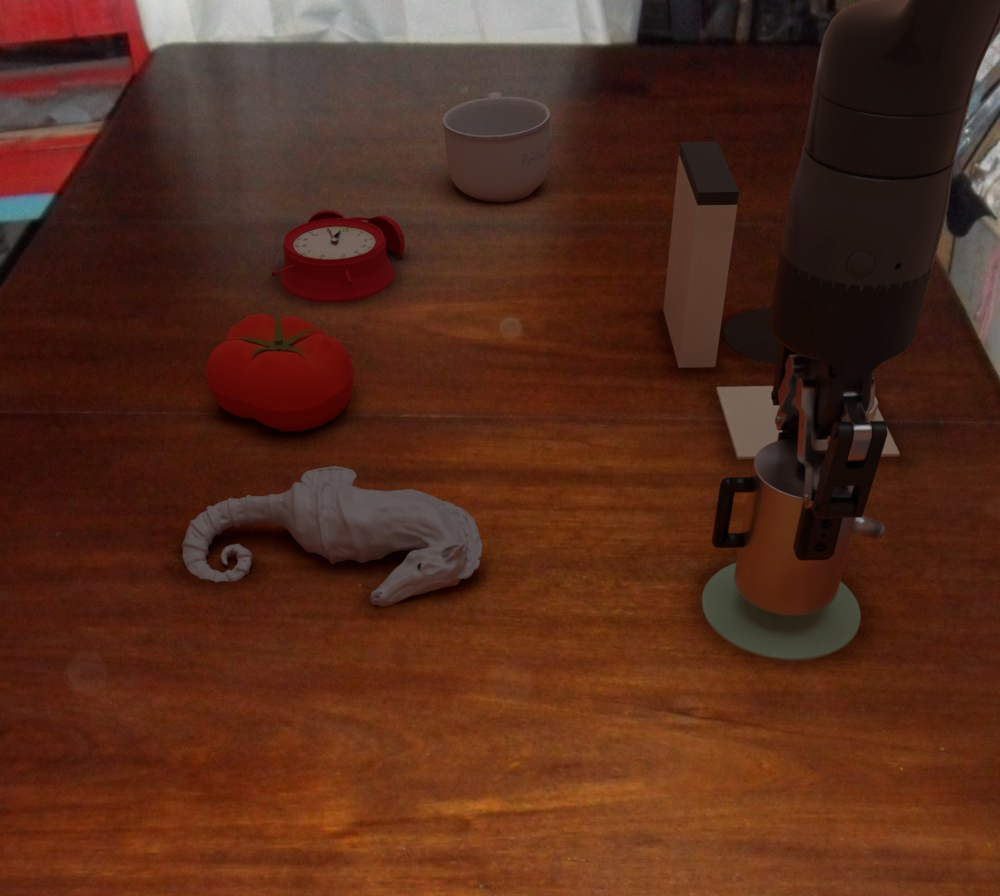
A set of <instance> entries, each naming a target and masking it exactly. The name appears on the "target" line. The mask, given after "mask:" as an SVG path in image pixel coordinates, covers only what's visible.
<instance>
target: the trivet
mask: <svg viewBox="0 0 1000 896" xmlns="http://www.w3.org/2000/svg"><path fill="white" fill-rule="evenodd" d="M735 568H736V562H735V563H734V562H733V563H731V564H729V565H727V566H725V567H722V568H721V569H720V570H718V571H717V572H716V573H715V574H713V576H711V577H710V578H709V580H708V581H707V582H706V584H705V586H704V588H703V591H702V594H701V602H700V604H701V609H702V613H703V615H704V618H705V620H706V621H707V623H708V624H709V626H710V627H711V629H712V630H713V631H715V632H716V634H717V635H718V636H720V637H721V638H722V639H724V640H725V641H726V642H728V643H730V644H731V645H733V646H734V647H736V648H738V649H740V650H742V651H745V652H747V653H750V654H753V655H755V656H759V657H763V658H767V659H772V660H781V661H809V660H814V659H820V658H822V657H827V656H829V655H831V654H834V653H836V652H838V651H840V650H841V649H843V648H844V647H846V646H848V644H850V643H851V641H852V640H853V639H854V638H855V637H856V635H857V633H858V631H859V628H860V625H861V619H862V616H861V609H860V606H859V602H858V600H857V598H856V596H855V595H854V594H853V592H852V591H851V590H850V588H849V587H848V586H847V585H846V584H845V583H844V582H842V580H840V584H839V588H838V592H837V595H836V597H835V599H834V600H833V602H832V603H831V604H830V605H829V606H827V607H826V608H824V609H822V610H821V611H818V612H815V613H812V614H807V615H799V616H788V615H780V614H775V613H771V612H768V611H765V610H762V609H760V608H758V607H756V606H754V605H753V604H751V603H750V602H748V601H747V600H746V599H745V598H744V597H743V596H742V595H741V594H740V593H739V591H738V590H737V588H736V585H735V581H734V574H735Z"/></svg>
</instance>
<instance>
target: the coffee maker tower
mask: <svg viewBox="0 0 1000 896" xmlns="http://www.w3.org/2000/svg"><path fill="white" fill-rule="evenodd" d="M739 196H740V190H739V188H738V186H737V184H736V181H735V179H734V176H733V174H732V172H731V169H730V167H729V165H728V162H727V161H726V158H725V155H724V153H723V151H722V148H721V146H720V144H719V141H680V143H679V151H678V161H677V170H676V181H675V189H674V200H673V209H672V218H671V219H672V221H671V230H670V238H669V249H668V260H667V270H666V280H665V288H664V289H665V290H664V298H663V299H664V301H663V309H662V310H663V311H662V312H663V315H664V318H665V323H666V326H667V329H668V333H669V337H670V341H671V344H672V348H673V352H674V356H675V360H676V364H677V367H678V368H680V369H683V368H685V369H686V368H691V369H692V368H716V364H717V357H718V349H719V342H720V334H721V327H722V322H723V321H722V320H723V313H724V306H725V299H726V291H727V284H728V279H729V271H730V270H729V269H730V261H731V255H732V249H733V240H734V232H735V227H736V226H735V225H736V220H737V219H736V218H737V212H738V203H739V198H740V197H739Z"/></svg>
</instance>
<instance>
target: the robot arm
mask: <svg viewBox="0 0 1000 896" xmlns="http://www.w3.org/2000/svg"><path fill="white" fill-rule="evenodd" d="M999 27H1000V0H862V1H859V2H855V3H852V4H850V5H848V6H846V7H844V8H842V9H841V10H839V12H838V13H837V14H835V15H834V17H833V18H832V19H831V20H830V22H829V24H828V26H827V28H826V30H825V31H824V34H823V37H822V41H821V44H820V49H819V51H818V57H817V62H816V66H815V67H816V68H815V75H814V81H813V86H812V89H811V90H812V91H811V96H810V103H809V109H808V115H807V120H806V125H805V133H804V138H803V144H802V149H801V153H800V157H799V160H798V164H797V167H796V171H795V173H794V176H793V180H792V184H791V187H790V192H789V196H788V202H787V207H786V214H785V220H784V226H783V233H782V238H781V242H780V249H779V253H778V259H777V265H776V266H777V267H776V271H775V272H776V273H775V279H774V285H773V290H772V291H773V292H772V296H771V303H770V314H769V324H770V328H771V330H772V332H773V334H774V336H775V337H776V338H777V339H778V340H779V341H780V345H779V351H778V358H777V365H776V366H775V372H774V378H773V379H774V380H773V385H772V386H773V391H772V392H771V399H772V402H773V405H774V406H778V405H779V409H778V412H777V416H776V417H775V424H776V427H777V430H782V432H779V434H778V439H777V441H779V440H783V439H789V438H798V449H797V458H798V461H799V462H800V463H802V464H803V465H804V466H805V486H804V494H803V504H802V509H801V514H800V518H799V523H798V528H797V532H796V537H795V542H794V547H793V549H794V552H795V555H796V557H797V559H799V560H827V559H829V558H831V557H832V556H833V554H834V551H835V547H836V543H837V539H838V535H839V531H840V527H841V523H842V519H843V518H857V517H862V516H864V513H865V509H866V506H867V503H868V499H869V496H870V492H871V489H872V487H873V483H874V480H875V476H876V474H877V470H878V467H879V464H880V460H881V458H882V457H881V454H882V451H883V448H884V444H885V441H886V437H887V433H888V431H887V428H888V426H887V422H886V421H885V420H884V421H868V419H869V412H870V410H871V409H872V408H873V406H874V400H875V397H876V380H875V377H874V376H873V372H874V370H875V369H876V368H878V367H879V366H880V365H882V364H883V363H884V362H886V361H888V360H891V359H892V358H895V357H897V356H899V355H900V354H902V353H903V352H905V351H906V350H907V349H908V348H909V347H910V346H911V344H913V343H912V342H913V341H914V339H915V336H916V333H917V328H918V325H919V322H920V317H921V315H922V311H923V305H924V302H925V298H926V295H927V291H928V287H929V283H930V280H931V275H932V271H933V268H934V264H935V261H936V256H937V253H938V249H939V245H940V241H941V238H942V234H943V230H944V226H945V222H946V219H947V214H948V210H949V203H950V195H951V188H952V187H951V186H952V180H953V179H952V178H953V172H954V167H955V162H956V157H957V153H958V151H959V146H960V142H961V138H962V134H963V130H964V126H965V123H966V120H967V115H968V112H969V108H970V103H971V99H972V96H973V92H974V88H975V83H976V79H977V75H978V72H979V70H980V68H981V66H982V63H983V61H984V59H985V56H986V54H987V52H988V50H989V48H990V45H991V44H992V41H993V39H994V38H995V35H996V33H997V31H998V29H999ZM813 439H817V440H827V444H828V448H827V450H816V449H815V447H814V445H813ZM822 466H823V467H822ZM821 467H822V470H821V474H820V468H821ZM819 475H820V478H819Z"/></svg>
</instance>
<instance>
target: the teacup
mask: <svg viewBox="0 0 1000 896" xmlns="http://www.w3.org/2000/svg"><path fill="white" fill-rule="evenodd" d="M551 114H552V113H551V110H550V109H549V108H548V106H547V105H545V104H544V103H542V102H541V101H537V100H534V99H532V98H527V97H520V96H519V97H518V96H503V95H502V92H499V91H492V92H489V93H488V94H487V97H482V98H475V99H473V100H469V101H464V102H462V103H459V104H457V105H455V106H453V107H451V108H450V109H448V110H447V111H446V112H445V114H443V116H442V119H441V123H442V126H443V130H444V141H445V142H444V143H445V152H446V159H447V166H448V171H449V175H450V177H451V181H452V182H453V184H454V185H455V187H456V188H457V189H459V191H461V192H462V193H464V194H465V195H467V196H469V197H471V198H473V199H476V200H479V201H485V202H493V203H505V202H513V201H514V202H515V201H518V200H521V199H522V200H523V199H525V198H527V197H528V196H530V195H532V193H533V192H534V191H535V190H536V189H537V188H538V187H539V186H540V185H541V184H542V183H544V181H545V180H546V177H547V174H548V172H549V166H550V153H551V151H550V150H551V139H550V138H551V134H550V132H551V131H550V120H551Z"/></svg>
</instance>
